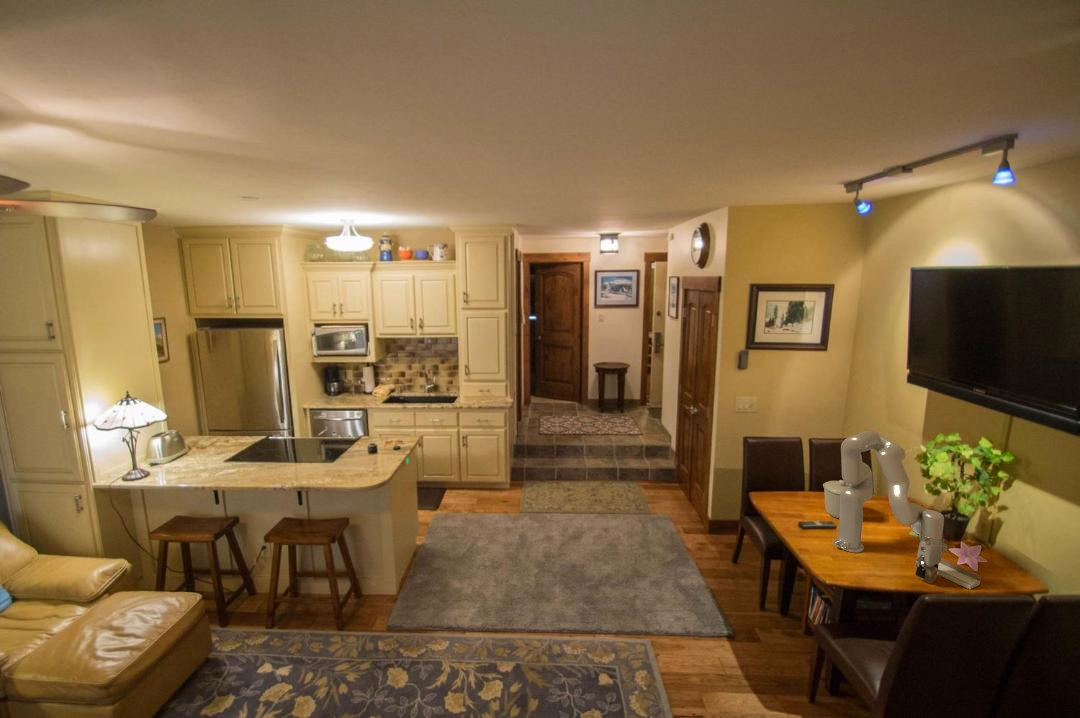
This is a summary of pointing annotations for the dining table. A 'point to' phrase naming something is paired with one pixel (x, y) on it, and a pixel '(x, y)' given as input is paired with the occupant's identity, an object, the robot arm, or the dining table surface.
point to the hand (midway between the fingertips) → (926, 573)
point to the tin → (916, 527)
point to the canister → (833, 496)
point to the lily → (968, 555)
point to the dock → (958, 574)
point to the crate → (929, 573)
